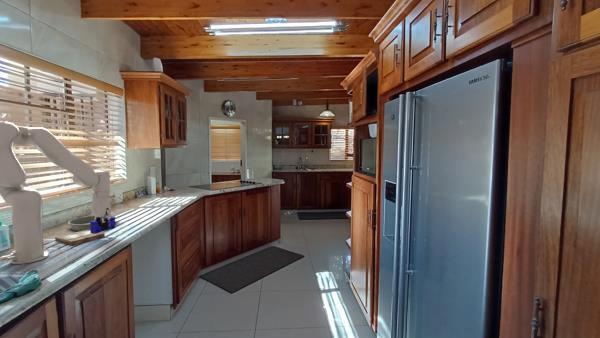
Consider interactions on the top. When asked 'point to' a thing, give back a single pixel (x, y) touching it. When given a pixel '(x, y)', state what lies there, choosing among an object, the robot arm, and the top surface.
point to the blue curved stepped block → (97, 229)
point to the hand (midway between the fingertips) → (101, 228)
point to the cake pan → (82, 223)
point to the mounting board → (79, 237)
